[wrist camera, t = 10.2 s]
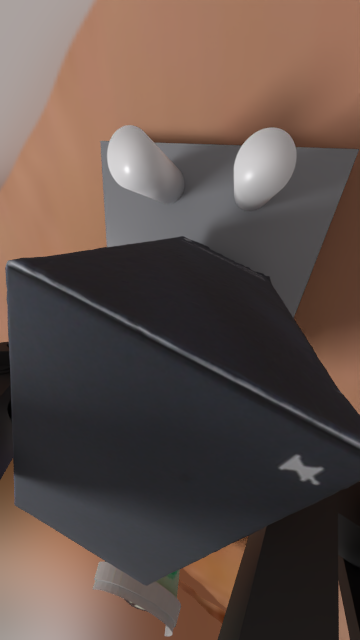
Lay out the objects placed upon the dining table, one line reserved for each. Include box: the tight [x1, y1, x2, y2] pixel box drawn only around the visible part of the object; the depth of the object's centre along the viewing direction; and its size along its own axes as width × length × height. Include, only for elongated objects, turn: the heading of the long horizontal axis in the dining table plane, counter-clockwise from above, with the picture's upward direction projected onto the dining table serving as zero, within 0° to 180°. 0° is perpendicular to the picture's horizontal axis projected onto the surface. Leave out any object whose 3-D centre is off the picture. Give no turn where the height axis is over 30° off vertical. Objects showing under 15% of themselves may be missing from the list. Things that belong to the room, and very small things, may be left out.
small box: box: [5, 236, 360, 586], centre depth 10 cm, size 11×6×10 cm, turn 157°
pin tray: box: [100, 125, 359, 318], centre depth 14 cm, size 14×21×6 cm, turn 175°
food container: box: [93, 561, 181, 636], centre depth 28 cm, size 12×6×10 cm, turn 55°
